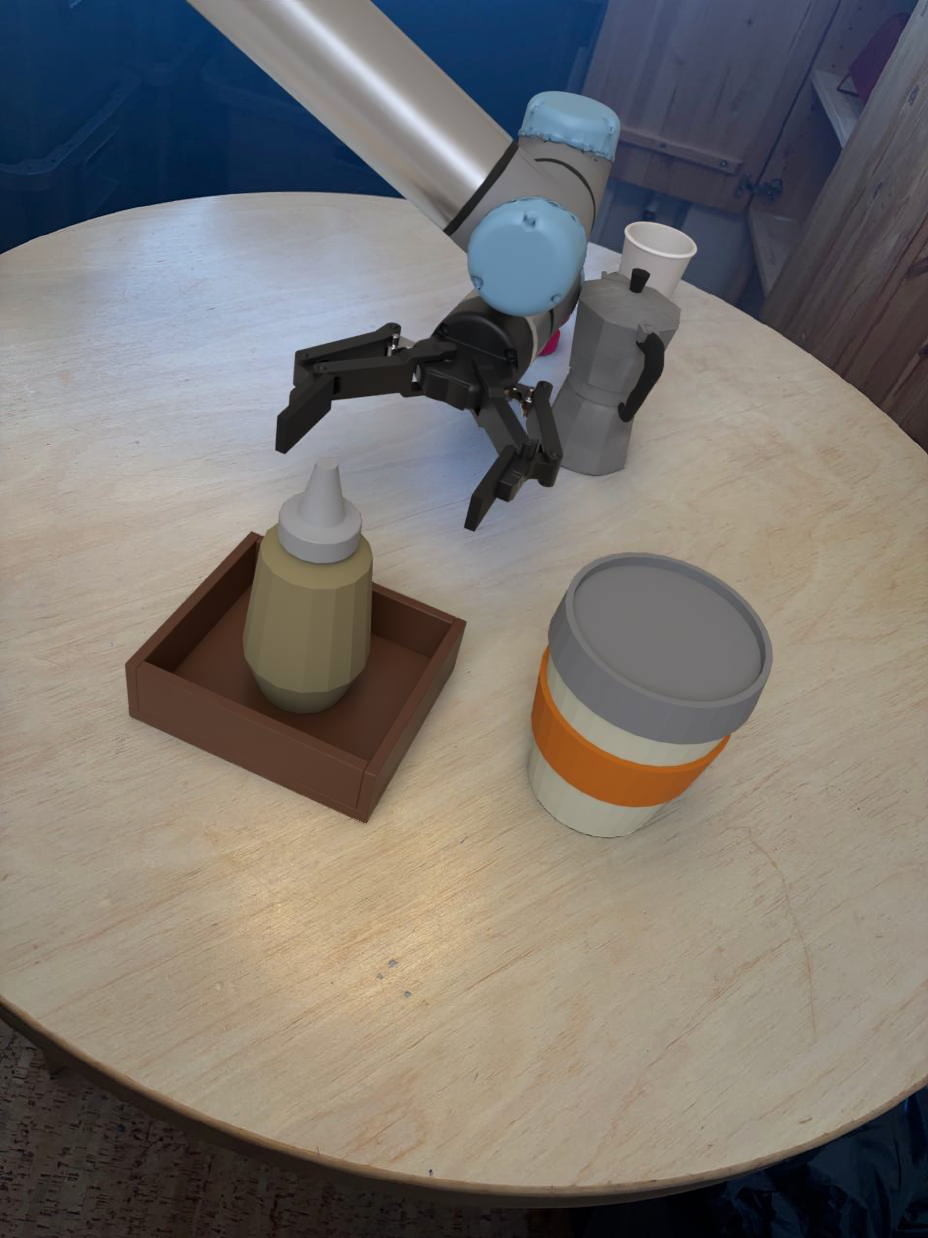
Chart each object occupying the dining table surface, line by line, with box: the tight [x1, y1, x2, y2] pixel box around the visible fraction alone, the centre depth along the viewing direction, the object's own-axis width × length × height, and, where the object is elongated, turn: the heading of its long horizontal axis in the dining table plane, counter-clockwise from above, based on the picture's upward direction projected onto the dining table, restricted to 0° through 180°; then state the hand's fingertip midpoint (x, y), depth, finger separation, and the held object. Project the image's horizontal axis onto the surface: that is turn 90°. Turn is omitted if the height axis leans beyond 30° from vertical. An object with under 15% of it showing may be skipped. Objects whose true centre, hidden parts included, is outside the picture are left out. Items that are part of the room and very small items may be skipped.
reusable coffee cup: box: [527, 551, 774, 836], centre depth 58 cm, size 13×12×15 cm
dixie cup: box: [618, 221, 698, 301], centre depth 109 cm, size 8×8×10 cm
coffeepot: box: [551, 268, 682, 476], centre depth 84 cm, size 15×9×18 cm, turn 10°
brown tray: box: [124, 530, 467, 824], centre depth 62 cm, size 17×15×5 cm
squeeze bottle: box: [243, 456, 374, 714], centre depth 57 cm, size 8×8×18 cm
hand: (375, 474), depth 60 cm, fingers open, 13 cm apart
